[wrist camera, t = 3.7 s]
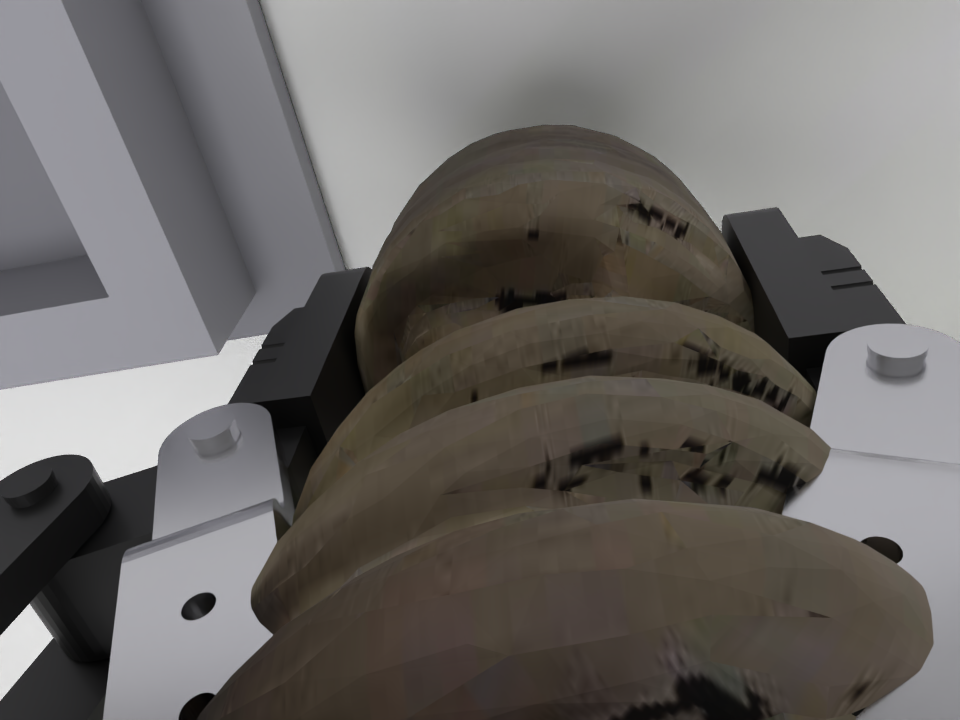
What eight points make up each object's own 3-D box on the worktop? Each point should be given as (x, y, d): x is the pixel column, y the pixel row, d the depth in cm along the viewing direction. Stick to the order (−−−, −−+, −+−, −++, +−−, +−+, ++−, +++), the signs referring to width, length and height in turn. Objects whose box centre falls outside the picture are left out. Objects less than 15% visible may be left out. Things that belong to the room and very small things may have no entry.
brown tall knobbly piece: (701, 25, 15) (1766, 1132, 2) (696, 292, 17) (1109, 1448, 5) (399, 62, 15) (-306, 1049, 3) (442, 312, 18) (207, 1370, 5)
